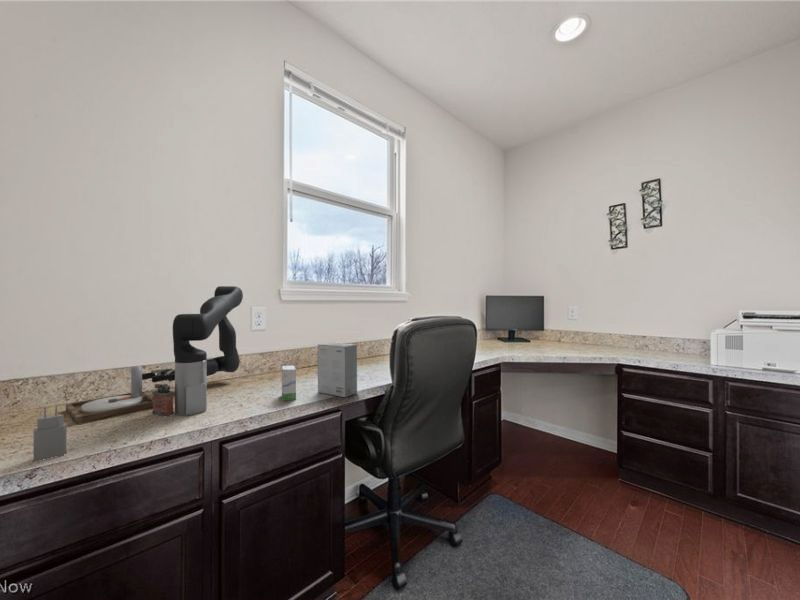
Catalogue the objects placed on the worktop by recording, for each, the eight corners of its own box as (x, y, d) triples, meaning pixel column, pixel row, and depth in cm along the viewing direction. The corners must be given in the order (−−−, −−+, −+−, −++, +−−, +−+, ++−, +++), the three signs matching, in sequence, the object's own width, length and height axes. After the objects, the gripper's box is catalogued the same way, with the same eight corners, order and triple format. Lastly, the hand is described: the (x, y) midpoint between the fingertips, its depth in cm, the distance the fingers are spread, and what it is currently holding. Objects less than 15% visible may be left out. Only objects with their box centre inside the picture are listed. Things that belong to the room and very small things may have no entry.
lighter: (176, 413, 110) (176, 383, 110) (166, 417, 107) (166, 386, 107) (159, 411, 113) (159, 382, 113) (149, 414, 109) (149, 384, 110)
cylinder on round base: (149, 404, 117) (149, 369, 117) (86, 417, 104) (86, 377, 104) (136, 396, 127) (136, 363, 127) (77, 406, 114) (77, 371, 114)
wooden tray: (158, 407, 117) (158, 401, 117) (76, 424, 100) (76, 417, 100) (141, 396, 130) (141, 391, 130) (65, 410, 113) (65, 404, 113)
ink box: (296, 399, 126) (296, 368, 126) (282, 401, 124) (282, 369, 124) (294, 393, 134) (294, 364, 134) (281, 395, 132) (281, 365, 132)
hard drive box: (357, 393, 134) (357, 344, 134) (345, 398, 128) (345, 346, 128) (330, 388, 143) (330, 342, 143) (316, 392, 136) (316, 344, 136)
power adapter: (34, 457, 79) (34, 407, 79) (66, 450, 83) (66, 403, 83) (33, 462, 77) (33, 411, 77) (66, 454, 81) (66, 405, 81)
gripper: (181, 360, 142) (137, 366, 127) (201, 363, 135) (156, 370, 121) (181, 377, 142) (136, 386, 127) (200, 381, 135) (156, 390, 121)
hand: (146, 378), depth 124 cm, fingers open, 8 cm apart
